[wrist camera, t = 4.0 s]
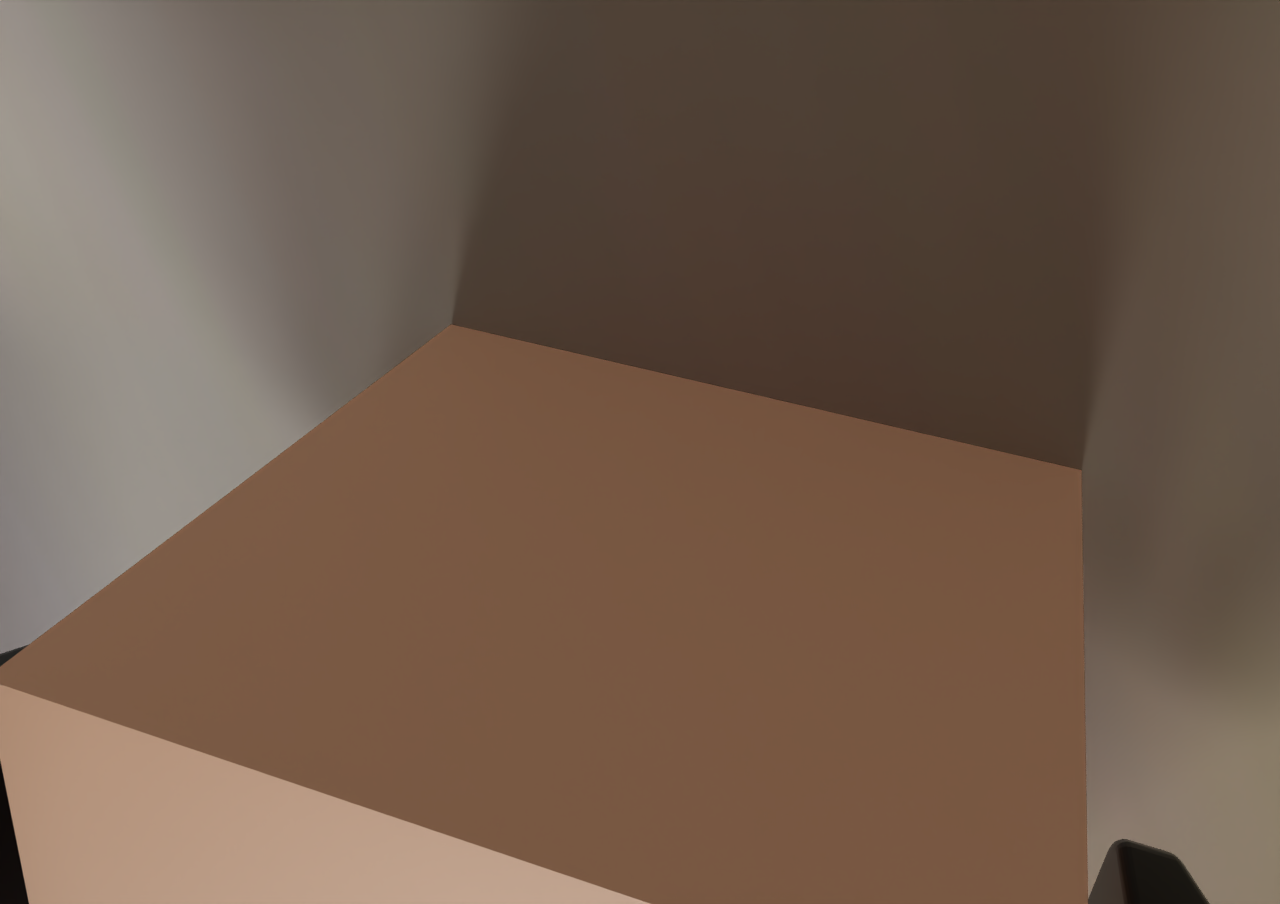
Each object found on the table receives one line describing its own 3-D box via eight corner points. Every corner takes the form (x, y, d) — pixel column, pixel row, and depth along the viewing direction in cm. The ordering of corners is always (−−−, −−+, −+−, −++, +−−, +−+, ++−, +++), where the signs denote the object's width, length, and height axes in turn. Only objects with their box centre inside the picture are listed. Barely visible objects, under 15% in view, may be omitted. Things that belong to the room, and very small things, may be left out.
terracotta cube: (1080, 465, 9) (1089, 1052, 4) (930, 934, 11) (843, 1606, 7) (456, 320, 10) (-18, 677, 6) (440, 774, 12) (102, 1269, 8)
